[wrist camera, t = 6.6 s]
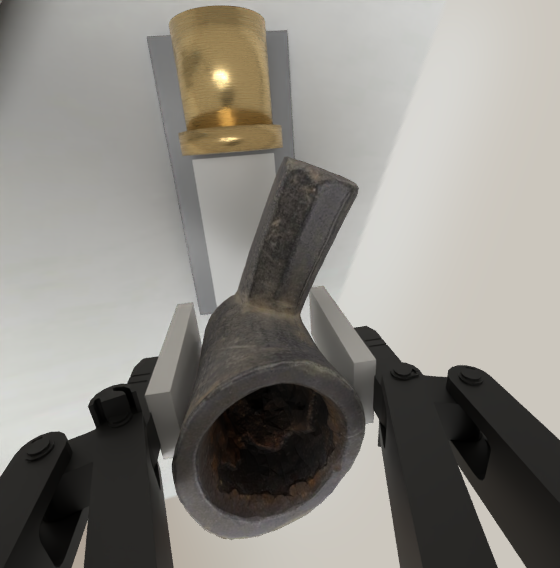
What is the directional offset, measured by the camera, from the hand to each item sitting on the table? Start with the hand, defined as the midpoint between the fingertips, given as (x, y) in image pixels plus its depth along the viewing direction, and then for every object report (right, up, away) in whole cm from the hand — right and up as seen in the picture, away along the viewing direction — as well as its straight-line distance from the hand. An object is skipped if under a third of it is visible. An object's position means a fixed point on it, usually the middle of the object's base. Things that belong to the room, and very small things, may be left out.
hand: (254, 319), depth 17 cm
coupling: (-3, +17, +9) cm, 19 cm away
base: (-2, +10, +11) cm, 15 cm away
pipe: (0, +2, 0) cm, 2 cm away
